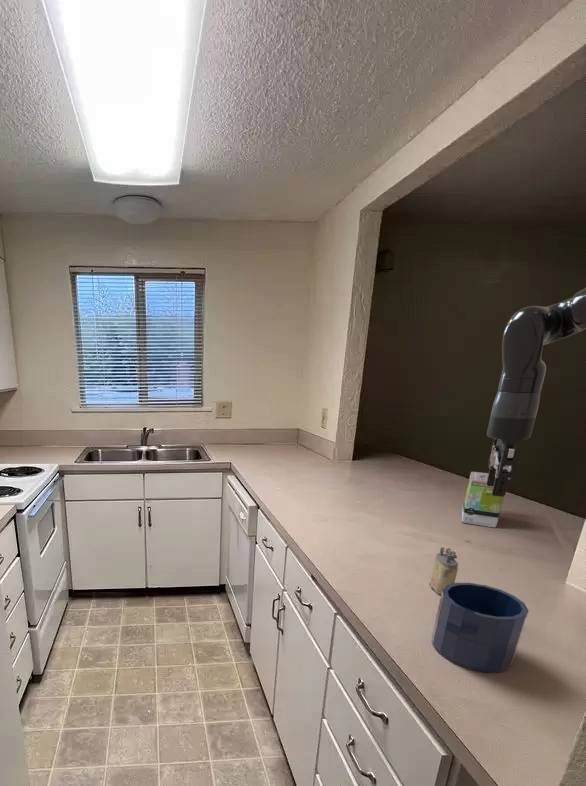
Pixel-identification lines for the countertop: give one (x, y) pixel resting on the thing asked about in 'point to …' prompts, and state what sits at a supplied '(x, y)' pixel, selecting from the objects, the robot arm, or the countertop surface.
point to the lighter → (444, 570)
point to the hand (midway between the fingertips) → (494, 490)
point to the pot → (478, 627)
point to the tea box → (481, 502)
